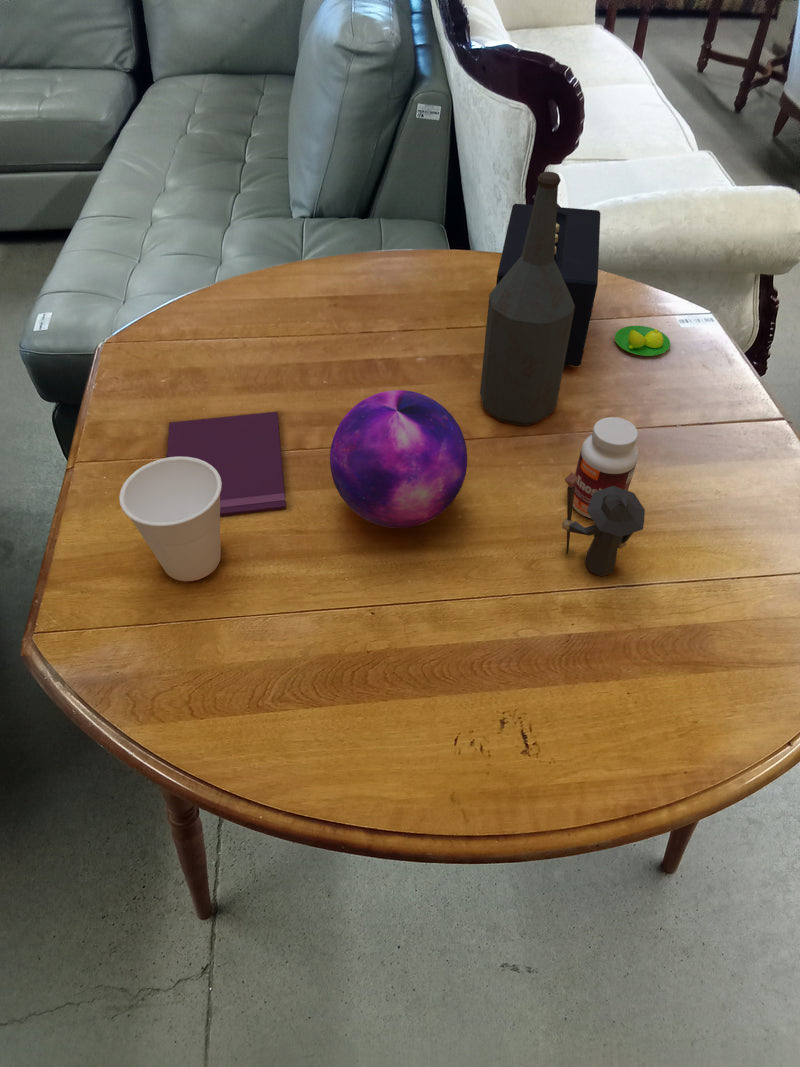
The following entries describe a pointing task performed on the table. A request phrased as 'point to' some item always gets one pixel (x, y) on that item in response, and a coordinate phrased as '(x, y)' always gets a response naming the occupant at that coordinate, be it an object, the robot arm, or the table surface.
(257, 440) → the book
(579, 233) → the speaker
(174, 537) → the cup
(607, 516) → the wizard figurine
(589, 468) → the pill bottle
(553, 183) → the bottle
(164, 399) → the table surface
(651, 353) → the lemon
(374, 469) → the decorative orb
